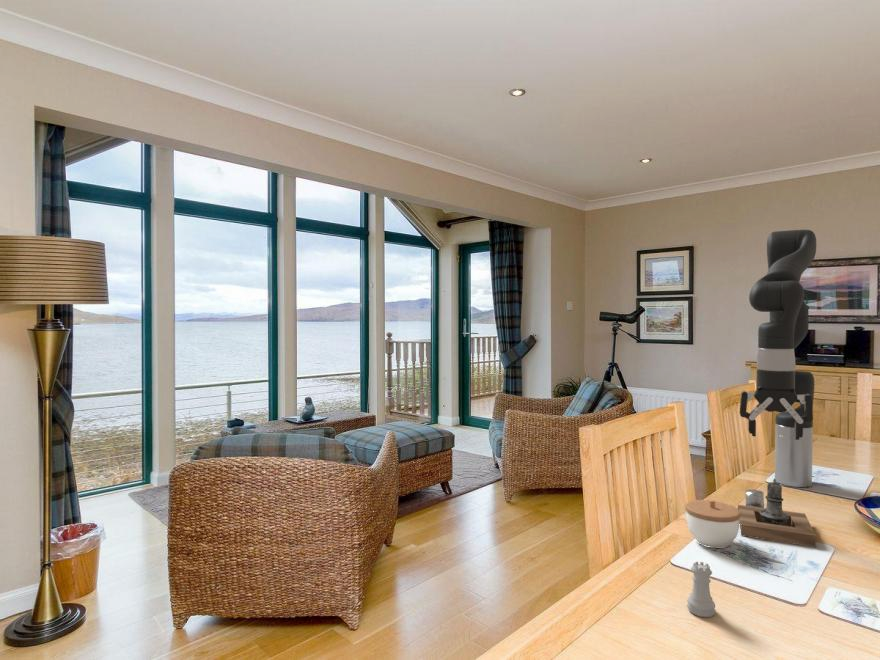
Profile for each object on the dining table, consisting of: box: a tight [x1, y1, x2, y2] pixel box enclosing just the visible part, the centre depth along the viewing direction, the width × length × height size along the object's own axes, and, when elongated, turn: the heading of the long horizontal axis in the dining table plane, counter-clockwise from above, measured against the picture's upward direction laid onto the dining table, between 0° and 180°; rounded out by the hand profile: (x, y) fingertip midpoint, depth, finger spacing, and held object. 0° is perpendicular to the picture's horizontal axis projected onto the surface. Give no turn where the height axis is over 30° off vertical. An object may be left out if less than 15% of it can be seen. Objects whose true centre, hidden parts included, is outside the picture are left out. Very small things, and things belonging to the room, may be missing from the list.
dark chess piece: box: [760, 478, 789, 526], centre depth 125 cm, size 6×6×12 cm
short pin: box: [744, 488, 765, 508], centre depth 136 cm, size 4×4×5 cm
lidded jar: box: [685, 499, 740, 549], centre depth 118 cm, size 11×11×9 cm
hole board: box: [737, 504, 817, 548], centre depth 125 cm, size 14×14×2 cm
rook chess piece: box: [686, 561, 716, 619], centre depth 91 cm, size 4×4×8 cm
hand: (774, 437), depth 124 cm, fingers open, 8 cm apart
